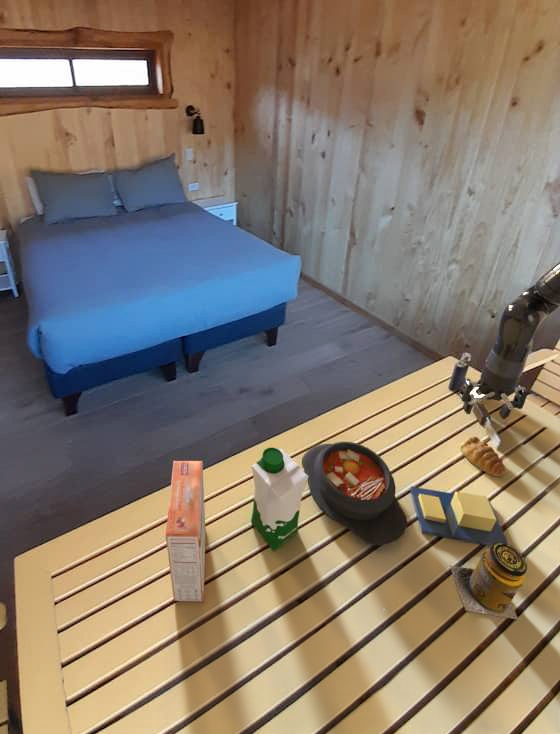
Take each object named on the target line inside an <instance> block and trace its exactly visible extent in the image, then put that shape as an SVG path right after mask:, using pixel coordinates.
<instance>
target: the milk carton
mask: <svg viewBox="0 0 560 734" xmlns="http://www.w3.org/2000/svg"><path fill="white" fill-rule="evenodd" d="M251 471H252V477H253V483H254V487H253V488H254V490H253V504H252V505H253V506H252V514H251V520H250V524H252V526H253V527H254V528H255V530H256V531H257V532H258V534H259V535H260V536H261V538H263V540H264V541H265V543H266V544H267V545H268V547H269V548H270V549H271V550H272V552H275V551H276V550H277V549H279V548H280V547H281V546H282V545H284V544H285V543H286V542H288V540H290V539H291V538H292V537H294V536H295V535H296V534H298V533H299V516H300V512H301V511H300V510H301V503H302V498H303V493H304V491H305V487H306V484H307V483H308V475H307V474H306V473H305V471H304V469H303V468H301V467H300V465H299V464H298V463H296V461H294V460H293V458H292V457H290V456H289V454H287V453H286V452H285V451H284V450H283V449H282V448H281V447H279V448H277V447H267V448H265V449H264V451H262V455H261V458H260V459H259V460H258V461H256V462H255V463H254V464H253V465H252V466H251Z"/></svg>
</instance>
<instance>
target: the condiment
mask: <svg viewBox="0 0 560 734" xmlns="http://www.w3.org/2000/svg"><path fill="white" fill-rule="evenodd" d="M449 568H450V570H451V573H452V576H453V579H454V582H455V585H456V588H457V591H458V595H459V596H460V599H461V602H462V604H463V605H462V606H463V607H464V610H465V611H466V612H471V613H472V612H473V613H478V614H485V615H490V616H493V617H501V618H506V619H513V620H519V618H518V615H517V613H516V611H515V609H514V607H513V605H512V603H511V602H512V601H513V600H514V598H515V596H516V595H517V594H518V591H519V589H520V588H521V587H522V586H523V584H524V582H525V575H526V573H527V570H528V564H527V562H526V559H525V557H524V555H523V554H522V553H521V552H520V551H519V550H518V549H517V548H515V547H514V546H513V545H511V544H510V543H508V544H507V543H505V542H499V541H498V542H494V543H492V545H490V546H488V548H486V549H484V551H483V552H482V554H481V556H480V558H479V560H478V562H477V563H476V566H475V567H474V568H470V567H464V566H463V567H462V566H457V565H451V564H450V565H449Z"/></svg>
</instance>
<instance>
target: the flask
mask: <svg viewBox="0 0 560 734" xmlns="http://www.w3.org/2000/svg"><path fill="white" fill-rule="evenodd" d="M472 358H473V356H472V354H471V353H470V352H469V353H468V352H463V353H462V354H461V358H460V359H459V360H458V361H457V362H455V364H454V368H453V371H452V374H451V376H450V377H451V378H450V380H449V383H448V386H447V388H448V390H449V391H451V392H457V391H460V390H461V387H462V385H463V383H464V381H465V379H466V376H467V373H468V371H469V367H470V365H471V362H472Z"/></svg>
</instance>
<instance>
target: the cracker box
mask: <svg viewBox="0 0 560 734" xmlns="http://www.w3.org/2000/svg"><path fill="white" fill-rule="evenodd" d="M203 465H204V464H203V460H173V464H172V473H171V481H170V482H171V483H170V491H169V492H170V493H169V503H168V512H167V521H166V528H165V529H166V531H165V541H166V548H167V549H166V550H167V556H168V563H169V572H170V582H171V588H172V596H173V601H174V602H192V603H193V602H194V603H195V602H197V603H198V602H199V603H203V602H204V601H205V578H206V577H205V574H206V573H205V572H206V508H205V507H206V506H205V490H204V489H205V488H204V468H203Z"/></svg>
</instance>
